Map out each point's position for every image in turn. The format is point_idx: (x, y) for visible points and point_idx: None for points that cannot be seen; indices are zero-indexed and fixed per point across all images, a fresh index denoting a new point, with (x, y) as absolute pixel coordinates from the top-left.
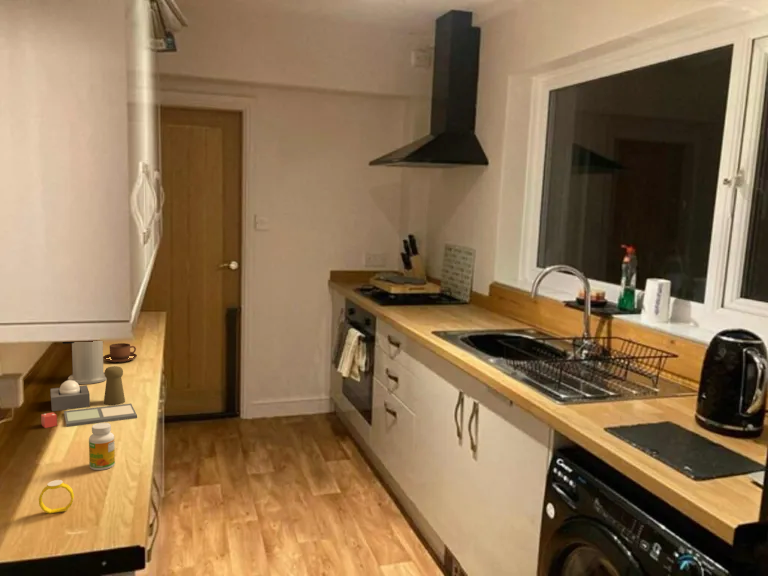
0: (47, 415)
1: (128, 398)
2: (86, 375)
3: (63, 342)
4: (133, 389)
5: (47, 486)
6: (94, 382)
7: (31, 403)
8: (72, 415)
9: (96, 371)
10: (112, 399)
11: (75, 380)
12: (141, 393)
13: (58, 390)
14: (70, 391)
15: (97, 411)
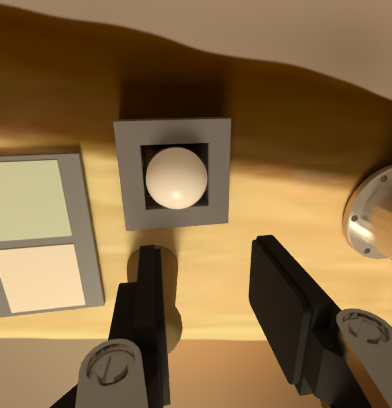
0: None
1: None
2: (372, 215)
3: (141, 253)
4: (247, 303)
5: None
6: (343, 226)
7: (225, 59)
8: (21, 175)
9: (376, 243)
10: (128, 272)
11: (372, 184)
12: (206, 318)
13: (207, 143)
14: (146, 181)
15: (47, 236)
